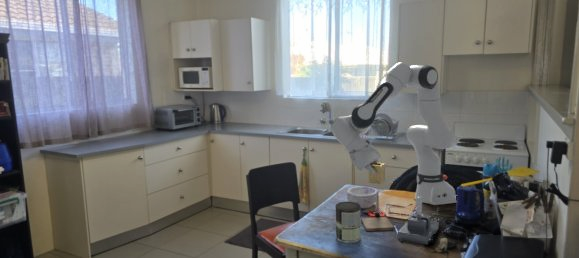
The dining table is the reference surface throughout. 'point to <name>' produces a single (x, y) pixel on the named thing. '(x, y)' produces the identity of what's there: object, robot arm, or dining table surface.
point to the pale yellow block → (380, 174)
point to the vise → (418, 226)
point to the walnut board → (377, 224)
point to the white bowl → (362, 196)
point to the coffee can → (348, 222)
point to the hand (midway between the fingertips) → (378, 171)
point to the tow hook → (377, 212)
